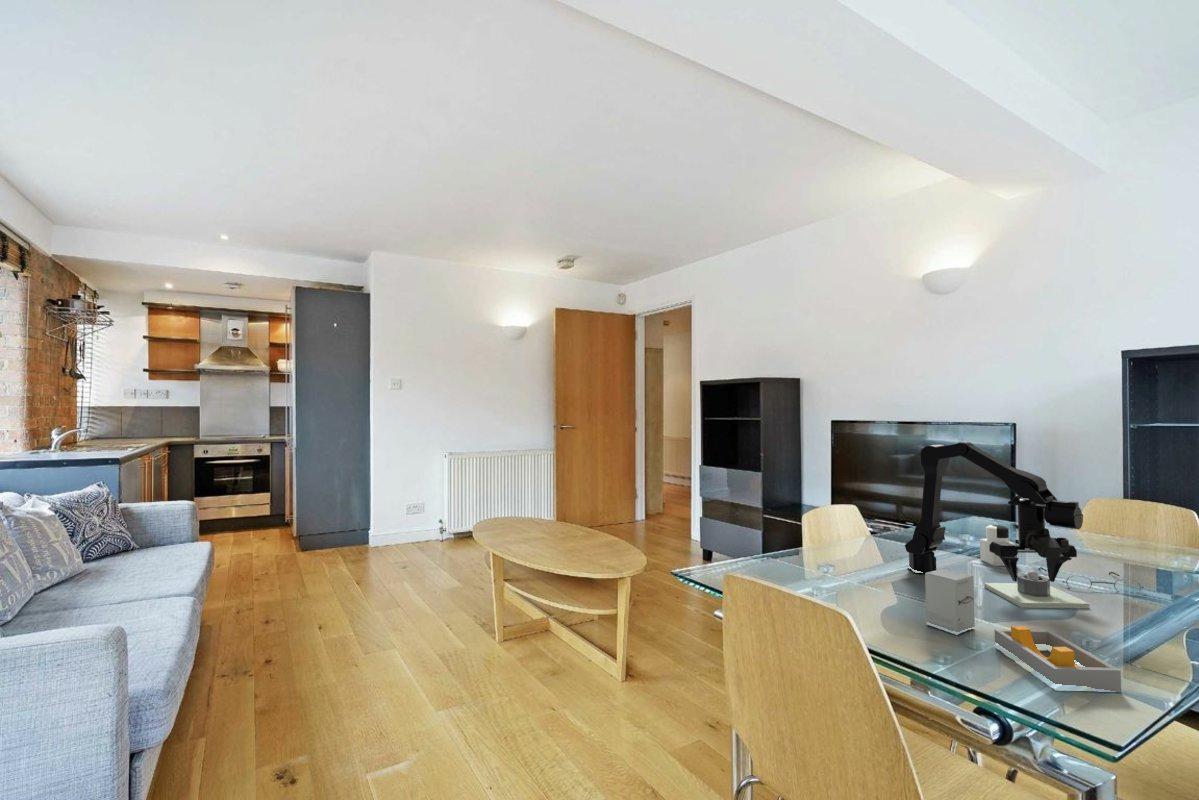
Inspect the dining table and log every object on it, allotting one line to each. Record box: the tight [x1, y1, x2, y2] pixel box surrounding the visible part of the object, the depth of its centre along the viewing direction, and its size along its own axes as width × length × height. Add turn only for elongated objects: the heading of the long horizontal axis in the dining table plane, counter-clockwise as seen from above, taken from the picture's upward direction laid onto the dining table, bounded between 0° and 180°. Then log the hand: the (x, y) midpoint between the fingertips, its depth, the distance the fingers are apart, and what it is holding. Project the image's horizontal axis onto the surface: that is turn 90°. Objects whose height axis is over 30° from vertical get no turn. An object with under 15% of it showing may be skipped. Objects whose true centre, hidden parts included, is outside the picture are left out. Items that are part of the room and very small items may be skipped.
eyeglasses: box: [1038, 567, 1145, 592], centre depth 161 cm, size 18×19×4 cm
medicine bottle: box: [979, 524, 1017, 567], centre depth 180 cm, size 7×7×12 cm
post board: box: [983, 570, 1090, 609], centre depth 148 cm, size 16×16×7 cm
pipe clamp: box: [1010, 625, 1080, 667], centre depth 109 cm, size 12×4×6 cm, turn 1°
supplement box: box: [924, 568, 976, 632], centre depth 130 cm, size 7×7×13 cm
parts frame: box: [994, 628, 1122, 693], centre depth 109 cm, size 11×18×4 cm, turn 174°
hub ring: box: [1016, 573, 1051, 597], centre depth 148 cm, size 6×6×4 cm
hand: (1033, 581), depth 148 cm, fingers open, 9 cm apart
